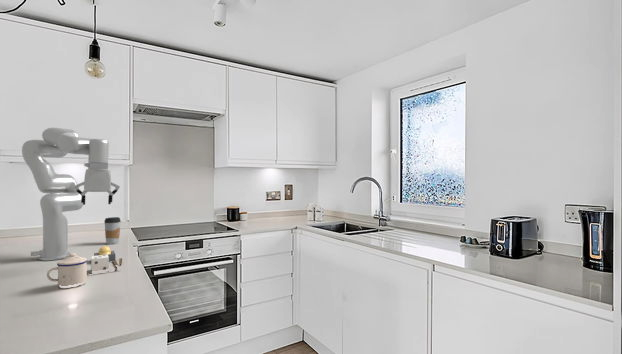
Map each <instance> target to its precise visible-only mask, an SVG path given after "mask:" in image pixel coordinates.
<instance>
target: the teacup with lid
mask: <svg viewBox="0 0 622 354" xmlns="http://www.w3.org/2000/svg"><path fill="white" fill-rule="evenodd" d="M70 253H71V254H69V257H66V258H64V259H59V260H58V262H56V263H57V265H56V266H57V267H56V266H55V267H52V268H50V269H48V270H47V272H46V277H47V279H48V280H49V281H51V282H57V286H58V285H61V286H68V285H74V284H78V283H82V282H84V281H86V280H87V277H88V276H87V274H88V273H87V271H88V270H87V269H88V267H87V265H88V264H87V262H88V259H87V257H81V256H80V255H77V254H76V253H75V252H74V253H73V252H70ZM56 270H57V279H56V278H52V277H51V276H50V273H51V272H52V271H56ZM87 281H88V280H87Z"/></svg>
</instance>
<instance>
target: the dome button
mask: <svg viewBox="0 0 622 354" xmlns="http://www.w3.org/2000/svg"><path fill="white" fill-rule="evenodd" d="M111 251H112V250H111V248H110V247H109V246H108V245H107V246H106V245H104V246H101V247H100V248H99V249H98V252H97V253H98V255H107V254H111Z"/></svg>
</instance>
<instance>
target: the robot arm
mask: <svg viewBox="0 0 622 354" xmlns="http://www.w3.org/2000/svg"><path fill="white" fill-rule="evenodd" d="M41 137H42V139H30V140H26V141H24V142H23V144H22V146H21V153H22V158H23V160H24V162H25V163H26V165H27V166H28V168H29V169H30V171H31V173H32V175H33V179H34V182H35V184H36V186H37V189H38V190H39V192H41V193H42V194H44V195H43V196H41V198H40V201H39V205H40V210H41V213H42V249H40V250H38V251H30V256H31V257H32V256H33V257H36V256H38V260H39V261H45V262H47V261H59V260H63V259H65V258H66V257H69V254H71V253H72V252H68V241H69V239H68V235H69V234H68V232H69V231H68V228H69V227H68V226H69V225H68V219H67V217H66V216H65V215H64V214H63V213H65V212H74V211H79V210H81V209H82V208H83V206H84V205H86V194H87V193H88V192H90V193H92V192H93V193H97V192H98V193H103V192H104V193H105V192H106V193H107V194H108V197H107V198H108V200H107V201H108V202H107V203H108V205H111V203H113V196H114V195H115V194H116V193H117V192H118V190H119V189H120V187H121V186H120V185H118V184H116V183H114V182H112V178H111V177H112V176H111V170H110V169H109V150H110V149H109V147H110V145H109V141H108V140H107V139H103V138H89V137H88V138H86V137H79V134H78V133H77V131H75V130H73V129H67V128H59V127H48V128H46V129H44V130H43V132H42V133H41ZM68 154H71V155H84V156H85V155H88V160H87V161H88V162H87V163H84V167H86V169H85V172H84V180H83V181H82V182H80V183H78V182H77V181H76V178H75V177H74V176H72V175H71V174H66V173H65V174H64V173H62V174H59V173H56V172H55V169H54V167H53V165H52V164H51V163H50V162H49V161H47V160H46V159H45V158H56V159H57V158H63V157H65V156H66V155H68ZM80 187H83V191H82V190H81V189H80ZM112 187H114V190H112V191H111V189H112Z"/></svg>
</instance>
